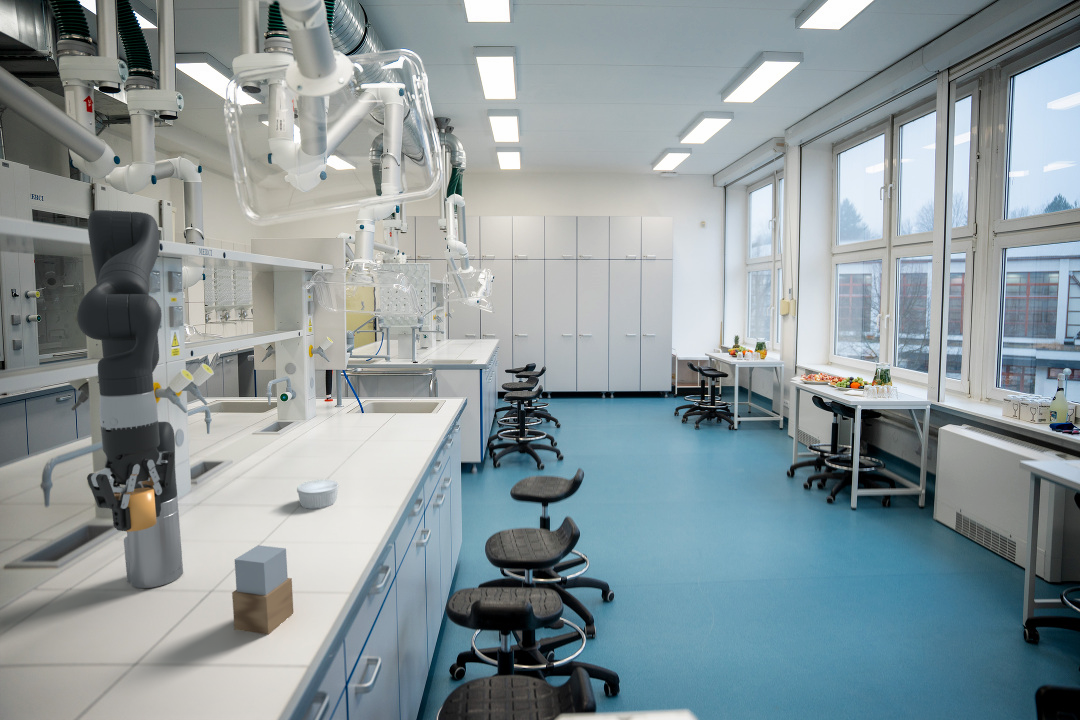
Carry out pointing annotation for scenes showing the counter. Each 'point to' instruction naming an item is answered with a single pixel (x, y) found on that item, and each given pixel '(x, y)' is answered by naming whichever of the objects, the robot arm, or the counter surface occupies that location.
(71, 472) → the counter surface
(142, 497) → the orange rounded cylinder
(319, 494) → the ramekin
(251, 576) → the grey top cube
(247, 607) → the walnut base cube
